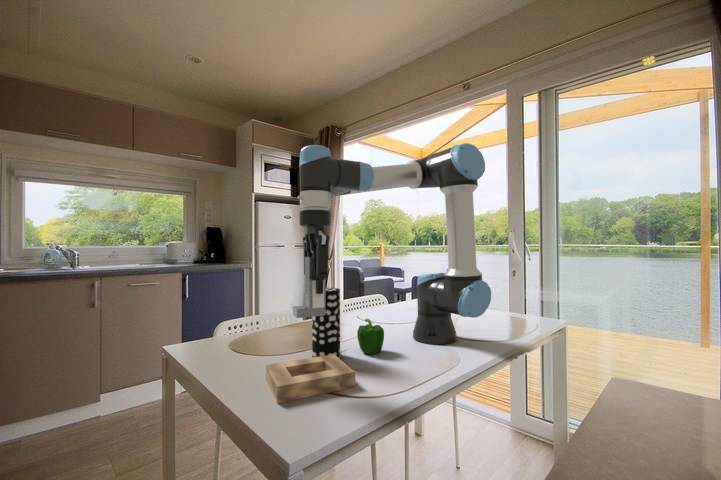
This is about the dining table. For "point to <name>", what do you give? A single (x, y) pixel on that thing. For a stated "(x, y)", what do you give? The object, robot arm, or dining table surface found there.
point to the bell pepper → (370, 338)
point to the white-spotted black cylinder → (327, 327)
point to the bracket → (309, 295)
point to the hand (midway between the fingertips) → (315, 305)
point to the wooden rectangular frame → (308, 377)
